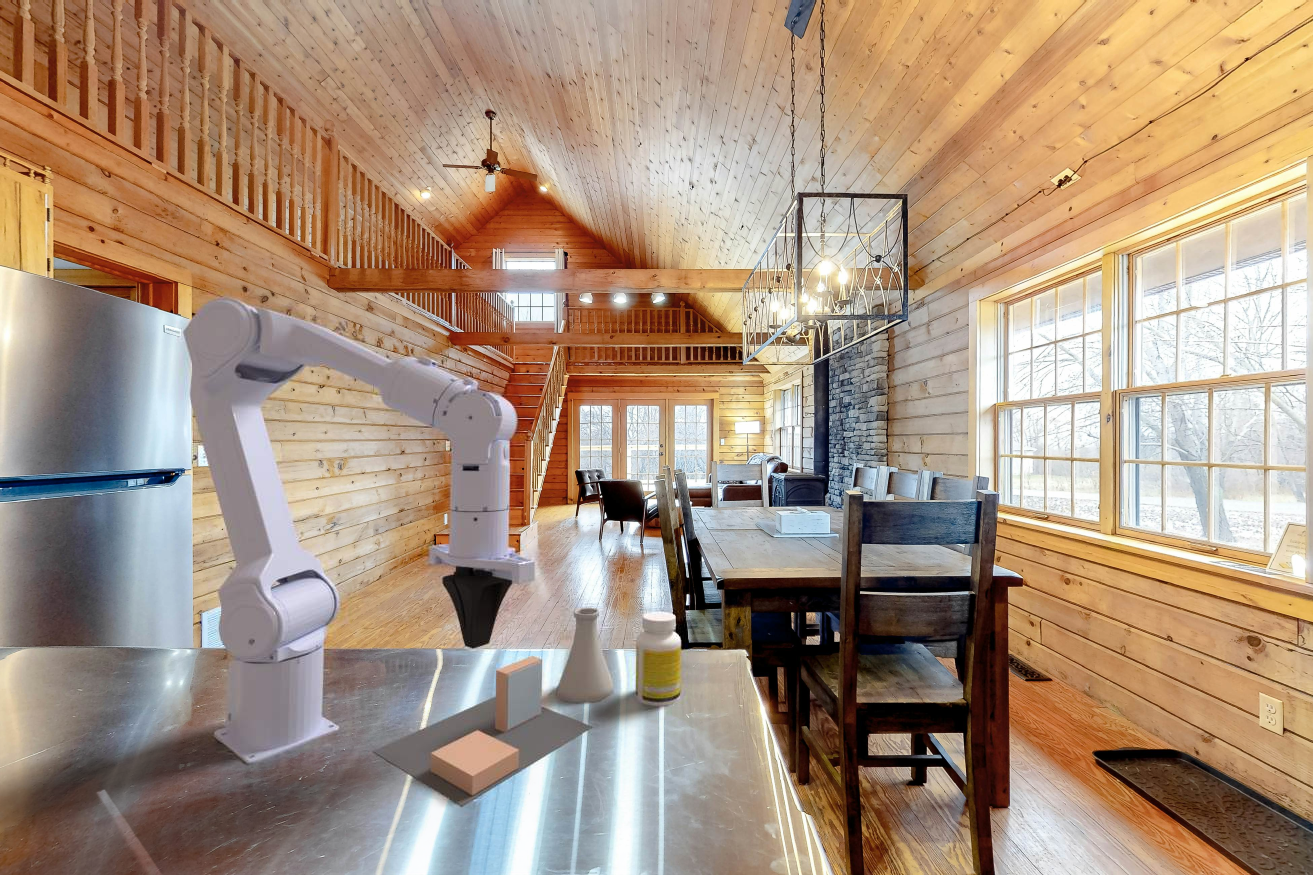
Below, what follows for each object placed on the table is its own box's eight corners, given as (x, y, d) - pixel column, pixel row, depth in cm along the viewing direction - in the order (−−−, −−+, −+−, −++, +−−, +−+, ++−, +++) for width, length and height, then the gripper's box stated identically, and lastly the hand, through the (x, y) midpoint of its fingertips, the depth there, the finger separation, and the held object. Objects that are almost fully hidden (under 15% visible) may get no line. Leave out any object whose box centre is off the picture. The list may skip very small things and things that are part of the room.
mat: (372, 755, 53) (372, 750, 53) (505, 695, 66) (505, 692, 66) (462, 810, 45) (462, 805, 45) (592, 730, 58) (593, 726, 58)
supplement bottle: (689, 701, 65) (690, 618, 65) (651, 713, 62) (652, 625, 62) (663, 685, 69) (664, 607, 70) (626, 695, 66) (627, 613, 67)
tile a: (430, 752, 49) (472, 775, 46) (477, 730, 54) (519, 749, 50) (430, 771, 49) (472, 796, 46) (477, 747, 54) (518, 768, 50)
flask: (605, 710, 63) (606, 621, 63) (545, 703, 64) (547, 617, 64) (621, 683, 70) (622, 604, 70) (567, 678, 71) (568, 600, 71)
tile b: (495, 727, 57) (496, 670, 58) (531, 709, 61) (532, 655, 62) (505, 732, 56) (506, 673, 57) (542, 714, 60) (542, 659, 61)
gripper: (559, 511, 55) (557, 649, 54) (470, 501, 63) (467, 620, 63) (501, 517, 49) (498, 671, 49) (412, 506, 57) (409, 637, 57)
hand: (477, 644), depth 55 cm, fingers closed
